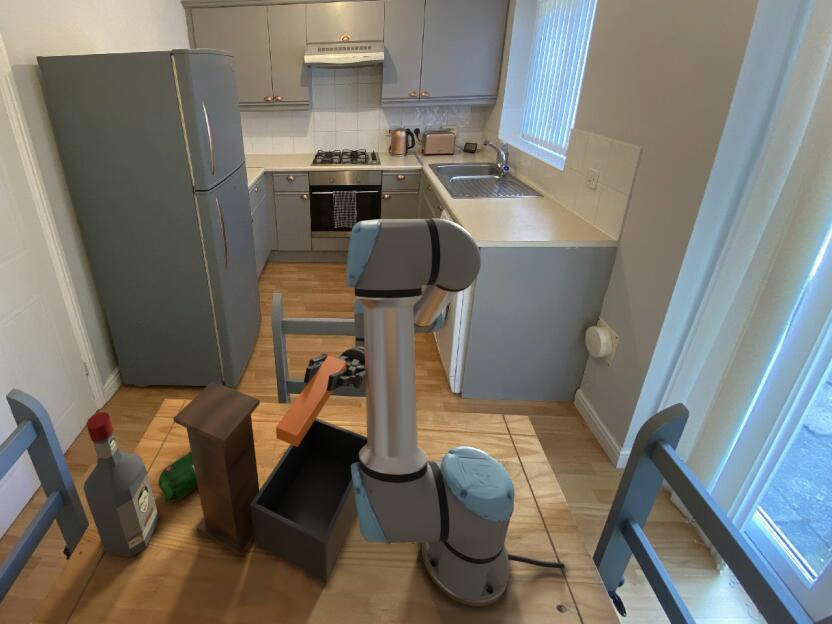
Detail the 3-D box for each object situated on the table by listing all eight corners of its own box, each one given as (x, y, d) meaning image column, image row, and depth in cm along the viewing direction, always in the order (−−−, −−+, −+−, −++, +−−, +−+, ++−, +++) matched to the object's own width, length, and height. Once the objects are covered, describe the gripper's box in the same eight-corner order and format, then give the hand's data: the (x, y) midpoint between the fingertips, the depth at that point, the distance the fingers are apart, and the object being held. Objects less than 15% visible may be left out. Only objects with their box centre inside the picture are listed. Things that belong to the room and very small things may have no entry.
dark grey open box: (372, 475, 94) (373, 439, 90) (326, 583, 75) (325, 544, 71) (311, 450, 101) (309, 415, 96) (254, 543, 81) (249, 504, 77)
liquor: (97, 555, 80) (55, 439, 68) (123, 508, 88) (89, 398, 77) (142, 560, 79) (107, 444, 67) (164, 513, 87) (136, 402, 76)
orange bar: (346, 371, 84) (346, 361, 83) (297, 447, 68) (296, 436, 67) (328, 365, 86) (328, 355, 85) (276, 438, 70) (275, 427, 69)
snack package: (234, 467, 97) (231, 450, 95) (168, 512, 87) (164, 494, 85) (219, 448, 102) (216, 432, 100) (155, 488, 92) (151, 471, 90)
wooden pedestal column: (270, 510, 87) (259, 399, 76) (241, 557, 79) (224, 440, 67) (228, 489, 92) (211, 381, 80) (197, 531, 84) (173, 418, 72)
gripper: (390, 391, 94) (357, 415, 73) (322, 369, 101) (274, 385, 80) (397, 357, 94) (365, 372, 73) (328, 338, 102) (282, 346, 80)
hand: (318, 379), depth 77 cm, fingers closed on orange bar, 4 cm apart
